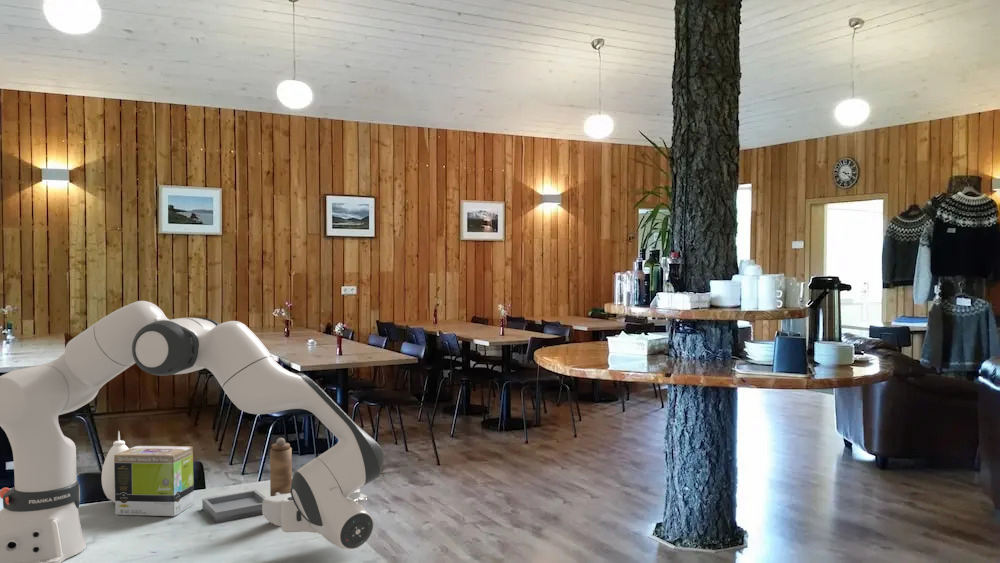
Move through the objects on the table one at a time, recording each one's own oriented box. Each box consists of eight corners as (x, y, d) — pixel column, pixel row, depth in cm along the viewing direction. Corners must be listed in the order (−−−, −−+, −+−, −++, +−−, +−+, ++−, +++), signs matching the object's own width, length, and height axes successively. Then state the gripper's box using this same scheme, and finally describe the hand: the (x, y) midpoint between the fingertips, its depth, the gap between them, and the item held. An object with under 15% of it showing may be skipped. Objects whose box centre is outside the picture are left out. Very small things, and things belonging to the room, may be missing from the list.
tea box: (195, 504, 191) (194, 445, 190) (174, 518, 181) (173, 455, 180) (137, 502, 192) (136, 443, 192) (113, 515, 182) (112, 453, 182)
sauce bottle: (124, 495, 197) (123, 426, 197) (144, 500, 193) (143, 429, 193) (95, 504, 190) (94, 432, 190) (115, 509, 186) (113, 435, 186)
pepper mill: (274, 526, 175) (274, 441, 174) (267, 521, 178) (266, 437, 178) (295, 522, 177) (294, 438, 177) (287, 516, 181) (287, 434, 181)
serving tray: (216, 522, 177) (216, 512, 177) (202, 508, 187) (202, 499, 187) (271, 512, 185) (271, 502, 185) (255, 499, 194) (255, 489, 194)
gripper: (371, 485, 163) (344, 470, 174) (276, 502, 151) (253, 485, 162) (371, 514, 163) (344, 497, 174) (276, 534, 151) (253, 515, 162)
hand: (299, 491), depth 168 cm, fingers open, 8 cm apart
